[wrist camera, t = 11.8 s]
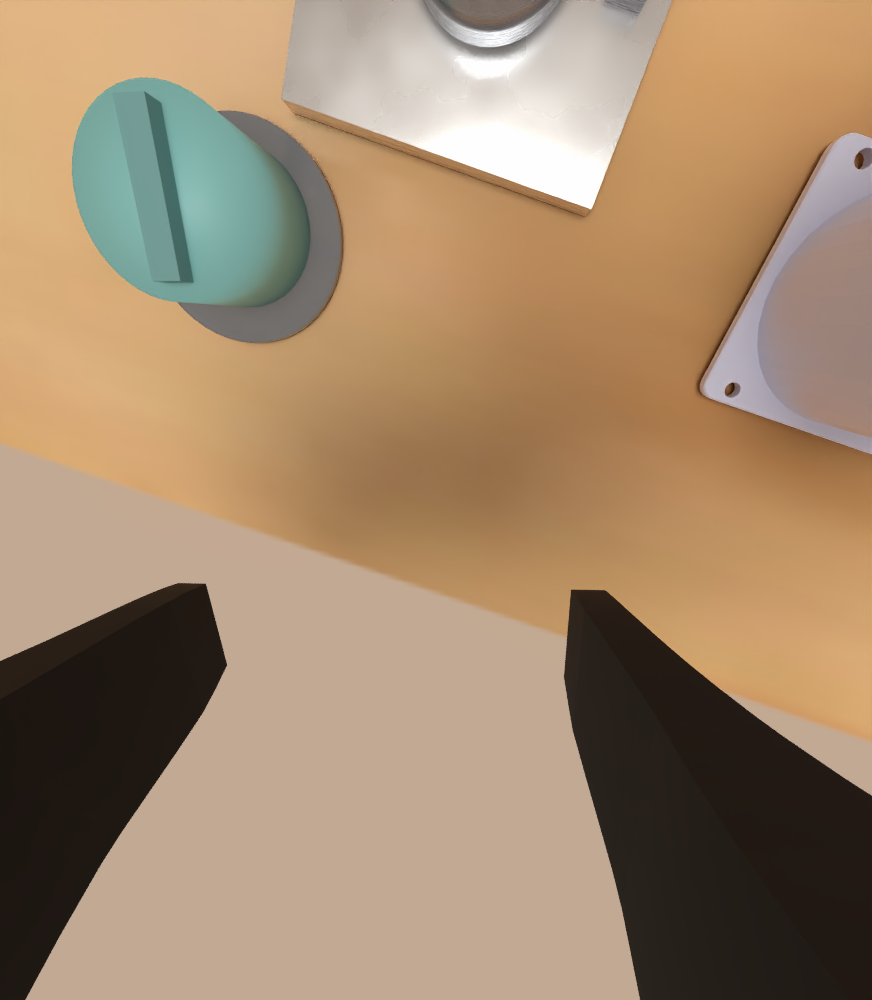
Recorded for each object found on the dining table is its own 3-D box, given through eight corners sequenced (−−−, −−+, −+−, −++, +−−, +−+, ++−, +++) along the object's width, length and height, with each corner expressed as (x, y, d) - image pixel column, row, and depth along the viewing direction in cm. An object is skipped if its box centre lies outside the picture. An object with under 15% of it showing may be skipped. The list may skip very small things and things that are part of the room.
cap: (317, 306, 16) (258, 300, 12) (186, 307, 17) (84, 302, 12) (301, 137, 14) (225, 58, 10) (155, 142, 15) (23, 70, 11)
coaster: (363, 157, 15) (360, 152, 14) (320, 367, 17) (316, 368, 17) (158, 84, 15) (150, 77, 14) (145, 307, 17) (138, 307, 17)
